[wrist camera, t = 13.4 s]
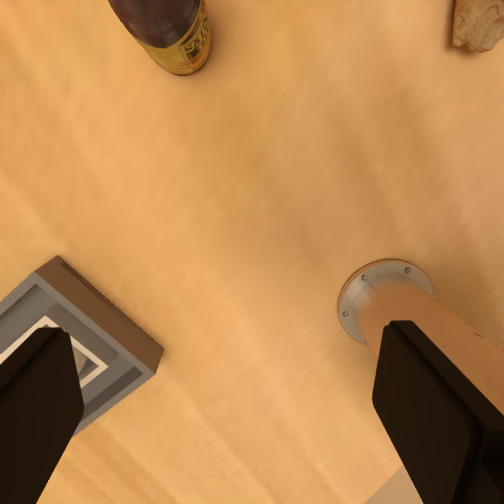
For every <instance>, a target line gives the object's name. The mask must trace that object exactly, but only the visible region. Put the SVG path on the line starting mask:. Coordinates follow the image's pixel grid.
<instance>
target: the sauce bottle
mask: <svg viewBox="0 0 504 504" xmlns="http://www.w3.org/2000/svg"><path fill="white" fill-rule="evenodd" d="M108 2H109V3H110V6H111V7H112V9H113V11H114V12H115V14H116V15H117V16H118V18H119V19H120V21H121V22H122V23H123V25H124V26H125V28H126V29H127V30H128V31H129V32H130V34H131V35H132V36H133V37H134V38H135V39H136V40H137V42H138V43H139V44H140V45H141V46H142V47H143V48H144V49H145V51H146V52H147V53H148V54H149V55H150V56H151V58H152V59H153V60H154V61H155V62H156V63H157V64H158V65H159V66H160V67H162V68H163V69H165V70H166V71H168V72H171V73H173V74H175V75H179V76H187V75H190V74H193V73H194V72H196V71H198V70H200V69H201V68H202V66H203V65H204V63H205V61H206V59H207V57H208V55H209V51H210V47H211V32H210V27H209V22H208V17H207V11H206V6H205V1H204V0H108Z"/></svg>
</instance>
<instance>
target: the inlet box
mask: <svg viewBox="0 0 504 504" xmlns="http://www.w3.org/2000/svg"><path fill="white" fill-rule="evenodd" d="M40 327H61V328H62V329H63V330H64V332H68V333H69V334H70V338H71V343H72V345H73V346H75V347H76V348H77V349H78V350H80V351H81V352H82V353H83V354H85V355H86V356H87V357H88V359H87V362H86V363H85V365H84V366H83V368H82V370H81V371H80V373H79V374H78V377H79V382H80V386H81V391H82V396H83V401H84V413H83V417H82V419H81V421H80V423H79V425H78V426H77V428H76V430H75V432H74V434H73V436H72V437H74V436H75V435H76V434H78V433H79V432H80V431H82V430H83V429H84V428H86V427H87V426H88V425H89V424H91V423H92V422H93V421H95V420H96V419H97V418H99V417H100V416H101V415H103V414H104V413H105V412H107V411H108V410H109V409H111V408H112V407H113V406H114V405H116V404H117V403H118V402H120V401H121V400H122V399H124V398H125V397H126V396H128V395H129V394H130V393H132V392H133V391H134V390H135V389H137V388H138V387H139V386H141V385H142V384H143V383H145V382H146V381H147V380H149V379H150V378H151V377H153V376H154V375H155V374H156V371H157V368H158V365H159V362H160V359H161V356H162V353H163V350H164V349H163V348H162V347H161V346H160V345H158V344H157V343H156V342H155V341H154V340H153V339H152V338H151V337H149V336H148V335H147V334H146V333H145V332H144V331H143V330H142V329H140V328H139V327H138V326H137V325H136V324H135V323H134V322H133V321H131V320H130V319H129V318H128V317H127V316H126V315H125V314H124V313H122V312H121V311H120V310H119V309H118V308H117V307H116V306H114V305H113V304H112V303H111V302H110V301H109V300H108V299H107V298H105V297H104V296H103V295H102V294H101V293H100V292H99V291H98V290H96V289H95V288H94V287H93V286H92V285H91V284H90V283H89V282H87V281H86V280H85V279H84V278H83V277H82V276H81V275H79V274H78V273H77V272H76V271H75V270H74V269H73V268H72V267H70V266H69V265H68V264H67V263H66V262H65V261H64V260H63V259H61V258H60V257H59V256H58V255H57V256H56V257H54V258H53V259H51V260H50V261H48V262H47V263H46V264H44V265H43V266H41V267H40V268H38V269H37V270H35V271H34V272H33V273H32V274H31V275H30V276H28V277H27V278H26V279H25V280H24V281H23V282H22V283H21V284H20V285H19V286H18V287H16V288H15V289H14V290H13V291H12V292H11V293H10V294H9V295H8V296H7V297H6V298H4V299H3V300H2V301H1V302H0V364H1V363H2V362H3V361H4V360H5V359H6V358H7V357H8V356H9V355H10V354H11V353H12V352H13V351H14V350H15V349H16V348H17V347H18V346H19V345H20V344H22V343H23V342H24V341H25V340H26V339H27V338H28V337H29V336H30V335H31V334H32V333H33V332H34V331H35V330H36V329H37V328H40Z"/></svg>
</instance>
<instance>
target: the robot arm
mask: <svg viewBox="0 0 504 504" xmlns="http://www.w3.org/2000/svg"><path fill="white" fill-rule="evenodd" d="M362 275H363V276H362ZM337 310H338V317H339V320H340V322H341V325H342V326H343V328H344V330H345V331H346V332H347V334H348V335H349V336H350V337H351V338H353V339H354V340H355V341H357V342H359V343H361V344H364V345H368V346H369V347H370V349H371V350H372V352H373V353H374V355H375V356H376V358H377V359H378V363H377V369H376V376H375V382H374V388H373V394H372V401H373V405H374V408H375V410H376V412H377V414H378V416H379V418H380V420H381V422H382V424H383V426H384V428H385V430H386V432H387V433H388V435H389V437H390V439H391V441H392V443H393V445H394V447H395V449H396V451H397V453H398V455H399V457H400V459H401V461H402V463H403V464H404V466H405V468H406V470H407V472H408V474H409V476H410V478H411V480H412V482H413V484H414V486H415V488H416V489H417V491H418V493H419V495H420V497H421V499H422V501H423V503H424V504H504V353H503V352H502V351H500V350H499V349H498V348H497V347H495V346H494V345H493V344H492V343H490V342H489V341H488V340H487V339H485V338H484V337H483V336H482V335H481V334H479V333H478V332H477V331H476V330H474V329H473V328H472V327H471V326H469V325H468V324H467V323H466V322H464V321H463V320H462V319H461V318H459V317H458V316H457V315H456V314H454V313H453V312H452V311H451V310H450V309H448V308H447V307H446V306H445V305H443V304H442V303H441V302H440V301H438V300H437V299H436V298H435V297H434V292H433V288H432V284H431V283H430V281H429V279H428V277H427V276H426V275H425V274H424V273H423V272H422V271H421V270H420V269H418V268H417V267H416V266H414V265H412V264H410V263H408V262H405V261H401V260H392V259H391V260H382V261H378V262H374V263H371V264H369V265H367V266H365V267H363V268H362V269H360V270H359V271H357V272H356V273H355V274H354V275H353V276H352V277H351V278H350V279H349V280H348V281H347V283H346V284H345V285H344V287H343V289H342V291H341V293H340V296H339V300H338V308H337ZM83 413H84V401H83V396H82V391H81V386H80V382H79V377H78V372H77V367H76V362H75V357H74V352H73V347H72V343H71V338H70V334H69V333H68V332H64V330H63V329H62V328H61V327H40V328H37V329H36V330H35V331H34V332H33V333H32V334H31V335H30V336H29V337H28V338H27V339H26V340H25V341H24V342H23V343H22V344H20V345H19V346H18V347H17V348H16V349H15V350H14V351H13V352H12V353H11V354H10V355H9V356H8V357H7V358H6V359H5V360H4V361H3V362H2V363H1V364H0V504H36V503H37V501H38V499H39V497H40V495H41V493H42V492H43V490H44V488H45V486H46V484H47V482H48V480H49V479H50V477H51V475H52V473H53V471H54V469H55V467H56V465H57V464H58V462H59V460H60V458H61V456H62V454H63V452H64V451H65V449H66V447H67V445H68V443H69V441H70V439H71V438H72V436H73V434H74V432H75V430H76V428H77V426H78V425H79V423H80V421H81V419H82V417H83Z"/></svg>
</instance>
